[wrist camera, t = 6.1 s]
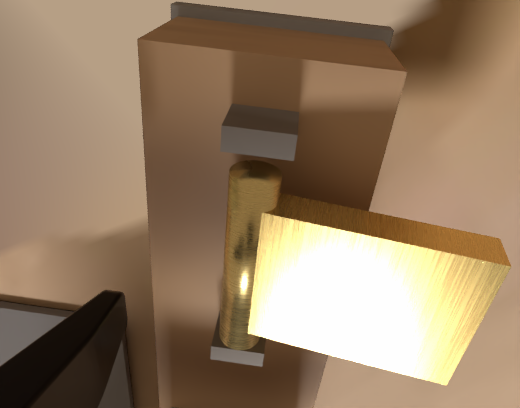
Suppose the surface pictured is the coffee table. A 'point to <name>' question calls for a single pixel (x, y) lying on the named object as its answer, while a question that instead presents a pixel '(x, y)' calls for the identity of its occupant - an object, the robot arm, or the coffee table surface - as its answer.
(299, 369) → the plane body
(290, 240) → the lever
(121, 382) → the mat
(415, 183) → the coffee table surface
